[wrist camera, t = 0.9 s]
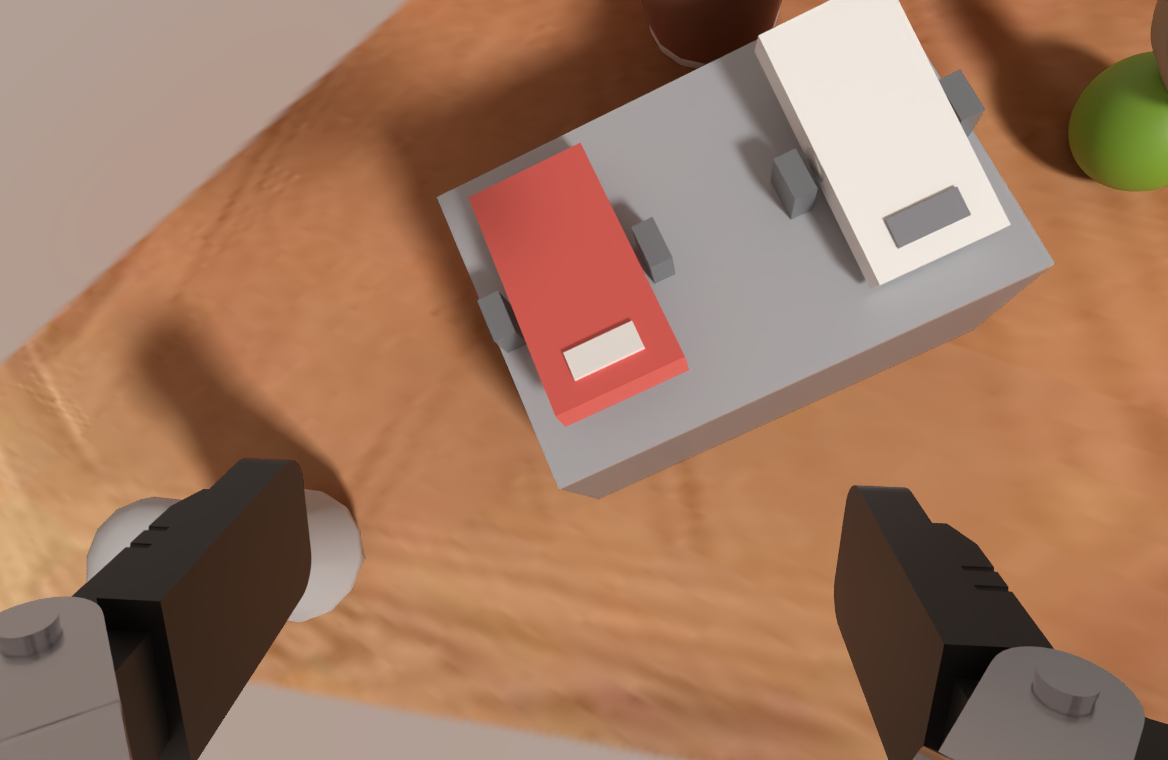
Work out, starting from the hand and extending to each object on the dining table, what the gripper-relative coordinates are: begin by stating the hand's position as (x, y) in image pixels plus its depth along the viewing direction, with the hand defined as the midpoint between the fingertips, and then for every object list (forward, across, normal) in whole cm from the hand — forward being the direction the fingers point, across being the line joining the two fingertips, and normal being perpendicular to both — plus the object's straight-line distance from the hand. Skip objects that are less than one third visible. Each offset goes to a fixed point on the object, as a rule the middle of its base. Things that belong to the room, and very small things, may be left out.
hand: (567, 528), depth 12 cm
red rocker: (+16, +1, 0) cm, 17 cm away
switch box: (+26, -5, +3) cm, 27 cm away
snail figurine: (+28, -22, -4) cm, 36 cm away
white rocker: (+18, -9, -5) cm, 20 cm away
